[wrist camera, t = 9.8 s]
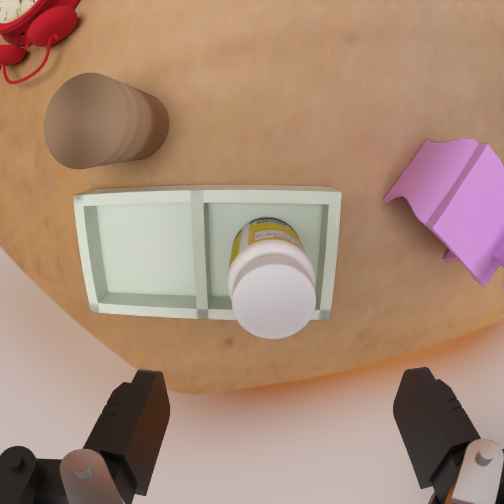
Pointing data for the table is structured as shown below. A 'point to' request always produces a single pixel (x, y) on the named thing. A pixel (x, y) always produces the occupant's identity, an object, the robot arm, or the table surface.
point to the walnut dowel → (103, 122)
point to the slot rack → (192, 244)
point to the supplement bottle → (270, 279)
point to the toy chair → (459, 201)
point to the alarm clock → (33, 27)
